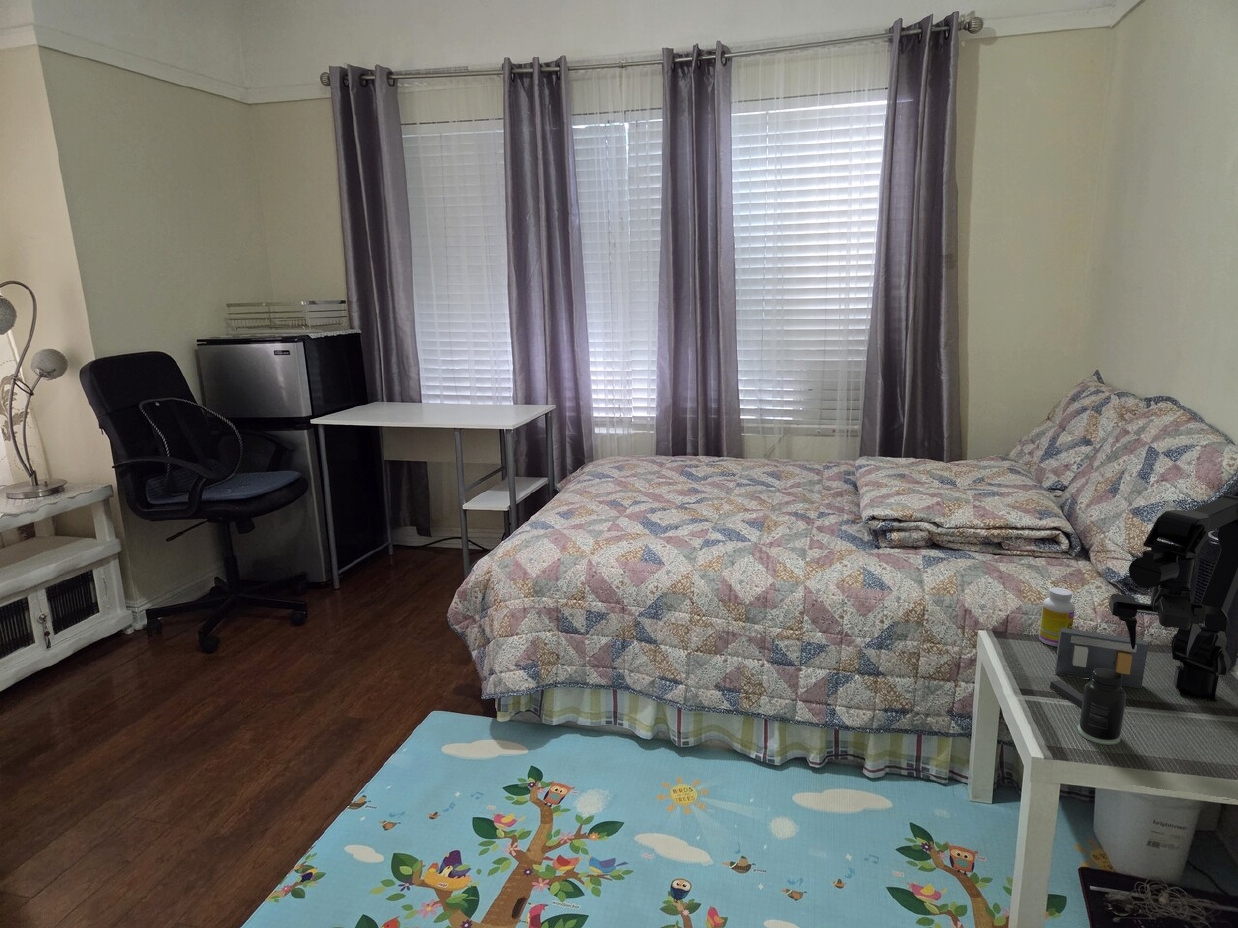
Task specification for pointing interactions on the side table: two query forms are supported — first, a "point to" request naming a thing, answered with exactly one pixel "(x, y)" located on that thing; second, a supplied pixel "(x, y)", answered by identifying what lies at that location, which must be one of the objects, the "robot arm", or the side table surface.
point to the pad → (1096, 740)
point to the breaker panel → (1100, 655)
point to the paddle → (1080, 656)
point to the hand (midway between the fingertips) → (1160, 652)
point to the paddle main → (1123, 663)
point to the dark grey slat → (1067, 692)
